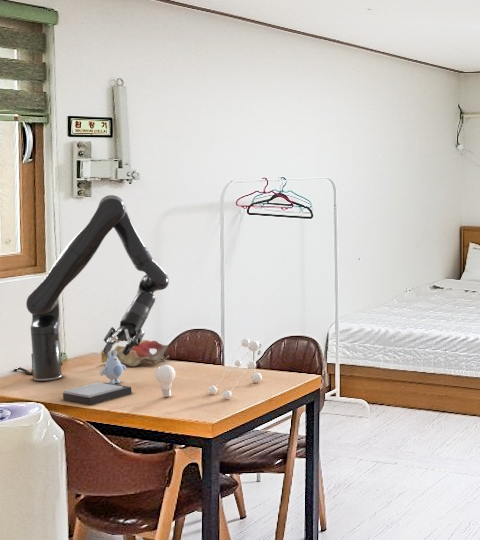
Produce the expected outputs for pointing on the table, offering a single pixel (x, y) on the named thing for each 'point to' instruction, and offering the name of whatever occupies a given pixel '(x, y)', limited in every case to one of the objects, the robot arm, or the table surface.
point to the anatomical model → (139, 353)
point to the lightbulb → (165, 378)
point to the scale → (96, 393)
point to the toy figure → (113, 368)
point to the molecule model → (255, 376)
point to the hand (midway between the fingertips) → (114, 353)
